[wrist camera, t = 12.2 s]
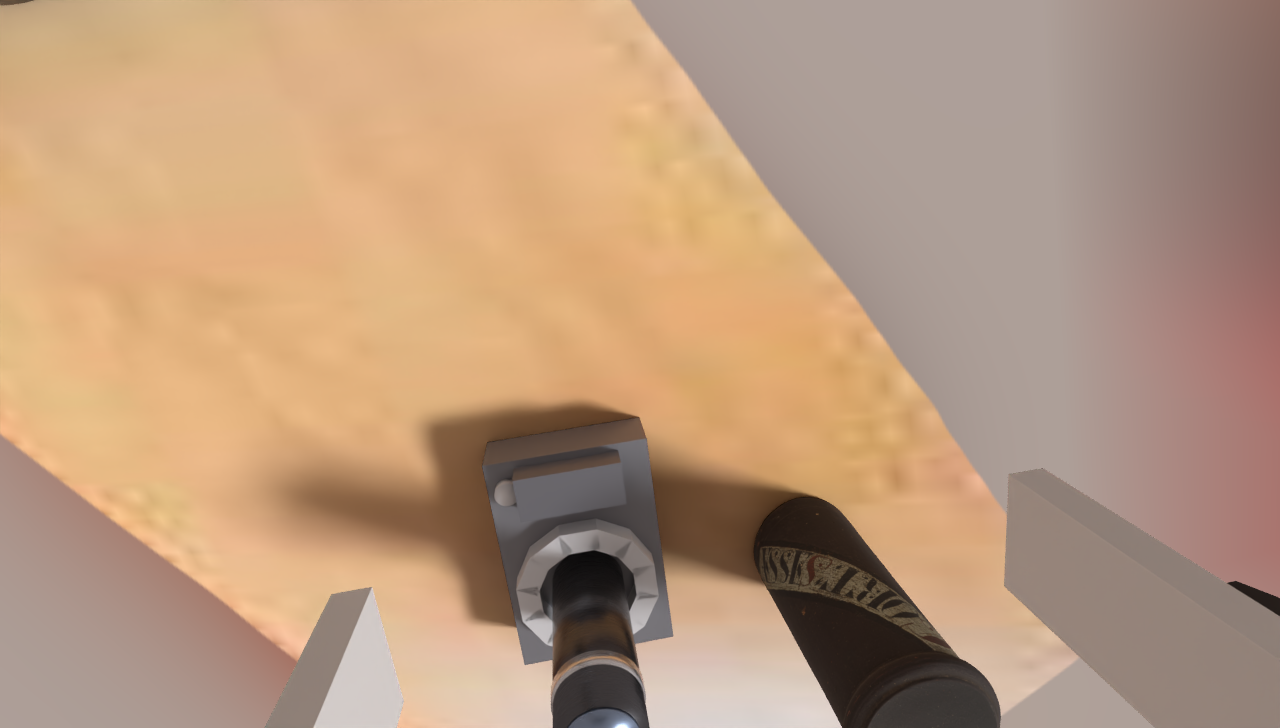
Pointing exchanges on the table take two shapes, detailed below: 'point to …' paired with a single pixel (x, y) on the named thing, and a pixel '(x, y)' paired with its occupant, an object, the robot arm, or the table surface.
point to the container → (864, 627)
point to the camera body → (576, 522)
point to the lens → (594, 647)
